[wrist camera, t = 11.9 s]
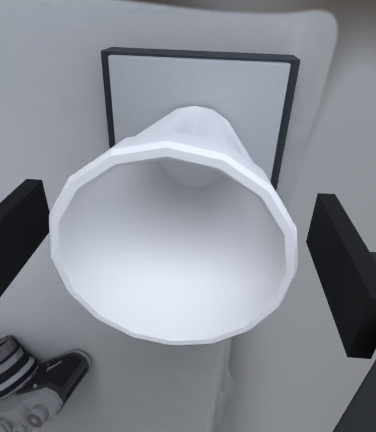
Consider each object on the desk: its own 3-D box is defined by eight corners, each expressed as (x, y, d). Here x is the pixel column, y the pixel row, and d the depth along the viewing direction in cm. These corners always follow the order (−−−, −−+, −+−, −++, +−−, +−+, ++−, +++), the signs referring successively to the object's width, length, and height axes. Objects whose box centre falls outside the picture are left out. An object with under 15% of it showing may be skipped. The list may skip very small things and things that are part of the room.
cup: (160, 223, 28) (119, 363, 17) (101, 107, 24) (-8, 196, 13) (281, 186, 26) (324, 324, 14) (240, 48, 21) (257, 94, 10)
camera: (63, 309, 42) (4, 366, 33) (97, 366, 43) (50, 436, 34) (-22, 343, 47) (-94, 400, 38) (11, 392, 48) (-50, 459, 39)
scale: (111, 47, 25) (93, 52, 21) (293, 55, 24) (304, 62, 21) (123, 203, 31) (111, 226, 28) (265, 214, 31) (270, 238, 27)
